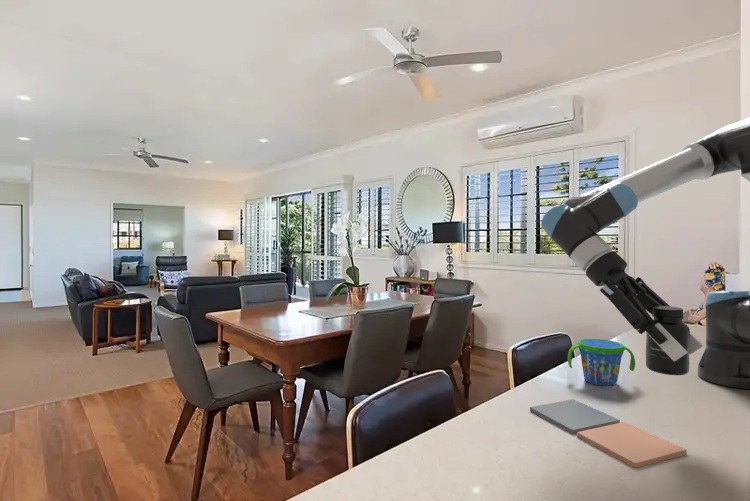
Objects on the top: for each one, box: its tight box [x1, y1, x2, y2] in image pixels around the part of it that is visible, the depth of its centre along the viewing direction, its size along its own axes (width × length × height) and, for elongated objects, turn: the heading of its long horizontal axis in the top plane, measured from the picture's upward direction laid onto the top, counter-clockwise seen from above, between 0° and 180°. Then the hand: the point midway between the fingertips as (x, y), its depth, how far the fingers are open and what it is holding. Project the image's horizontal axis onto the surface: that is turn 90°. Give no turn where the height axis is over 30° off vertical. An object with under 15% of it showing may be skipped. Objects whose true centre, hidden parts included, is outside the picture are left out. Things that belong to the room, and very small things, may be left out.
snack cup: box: [567, 338, 636, 387], centre depth 110 cm, size 16×10×10 cm
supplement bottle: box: [645, 305, 691, 376], centre depth 81 cm, size 7×7×12 cm
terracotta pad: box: [576, 421, 688, 469], centre depth 77 cm, size 12×12×1 cm
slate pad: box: [529, 398, 621, 435], centre depth 89 cm, size 12×12×1 cm
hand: (689, 353), depth 78 cm, fingers closed on supplement bottle, 7 cm apart
